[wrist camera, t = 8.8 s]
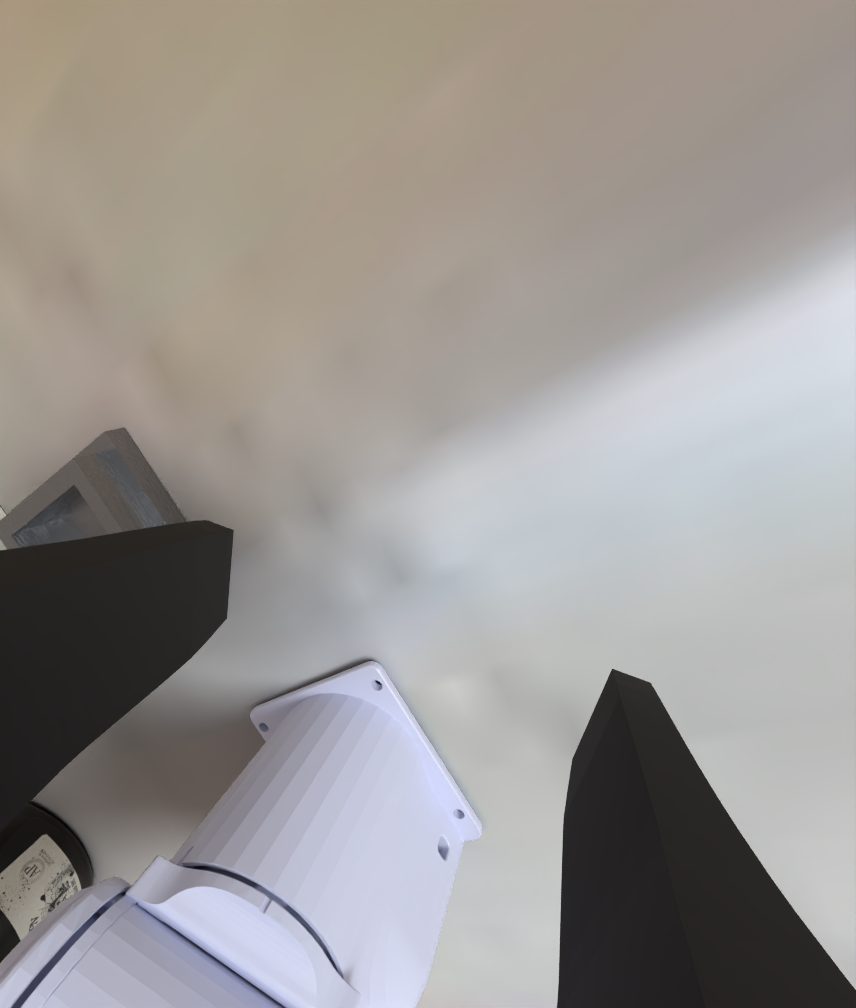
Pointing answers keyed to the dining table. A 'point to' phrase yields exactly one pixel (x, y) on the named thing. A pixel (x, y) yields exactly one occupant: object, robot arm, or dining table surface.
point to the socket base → (92, 497)
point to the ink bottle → (36, 872)
